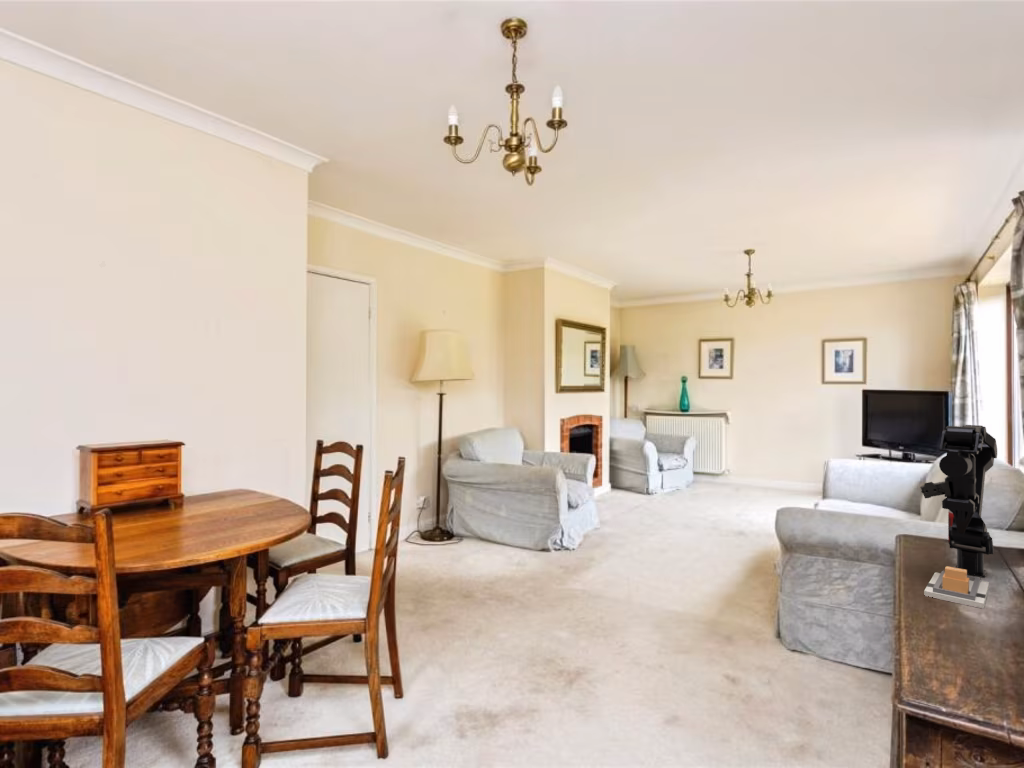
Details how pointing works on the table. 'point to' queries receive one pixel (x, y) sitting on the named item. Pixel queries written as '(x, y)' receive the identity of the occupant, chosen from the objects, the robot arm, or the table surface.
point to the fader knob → (956, 580)
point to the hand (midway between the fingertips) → (961, 533)
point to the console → (973, 598)
